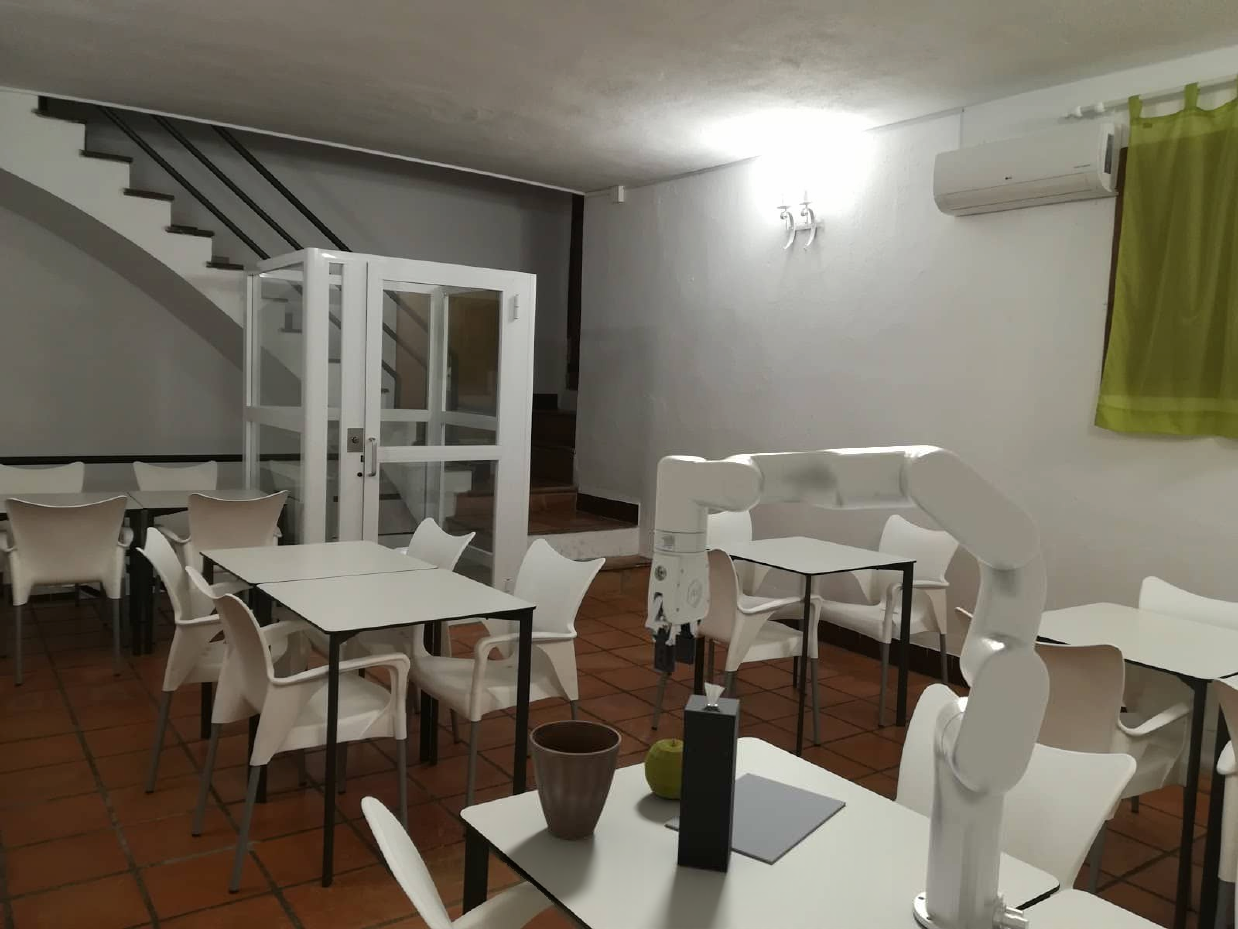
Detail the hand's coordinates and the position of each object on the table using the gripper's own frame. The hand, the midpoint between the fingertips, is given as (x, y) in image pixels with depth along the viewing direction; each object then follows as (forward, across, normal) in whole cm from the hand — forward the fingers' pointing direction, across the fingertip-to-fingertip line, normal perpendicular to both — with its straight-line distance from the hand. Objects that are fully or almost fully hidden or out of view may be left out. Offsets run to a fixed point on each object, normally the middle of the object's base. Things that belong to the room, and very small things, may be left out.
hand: (674, 665), depth 140 cm
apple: (+34, +28, +17) cm, 47 cm away
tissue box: (+34, +12, 0) cm, 36 cm away
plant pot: (+34, +5, +22) cm, 40 cm away
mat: (+33, +32, +1) cm, 46 cm away
